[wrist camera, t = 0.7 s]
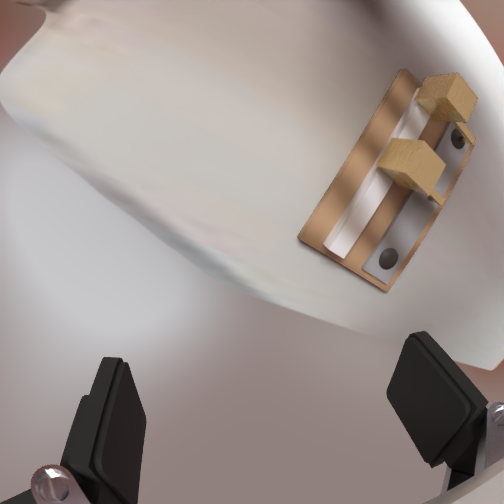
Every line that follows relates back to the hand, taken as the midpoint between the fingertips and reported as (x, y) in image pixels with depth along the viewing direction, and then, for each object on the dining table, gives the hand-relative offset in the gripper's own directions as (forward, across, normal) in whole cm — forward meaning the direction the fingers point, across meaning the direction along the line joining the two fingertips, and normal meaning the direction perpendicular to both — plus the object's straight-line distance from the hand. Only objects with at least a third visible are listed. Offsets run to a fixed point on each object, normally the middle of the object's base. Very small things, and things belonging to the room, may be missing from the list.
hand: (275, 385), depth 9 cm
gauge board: (+27, -22, -3) cm, 35 cm away
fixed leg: (+25, -27, -13) cm, 38 cm away
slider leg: (+25, -21, -4) cm, 33 cm away
